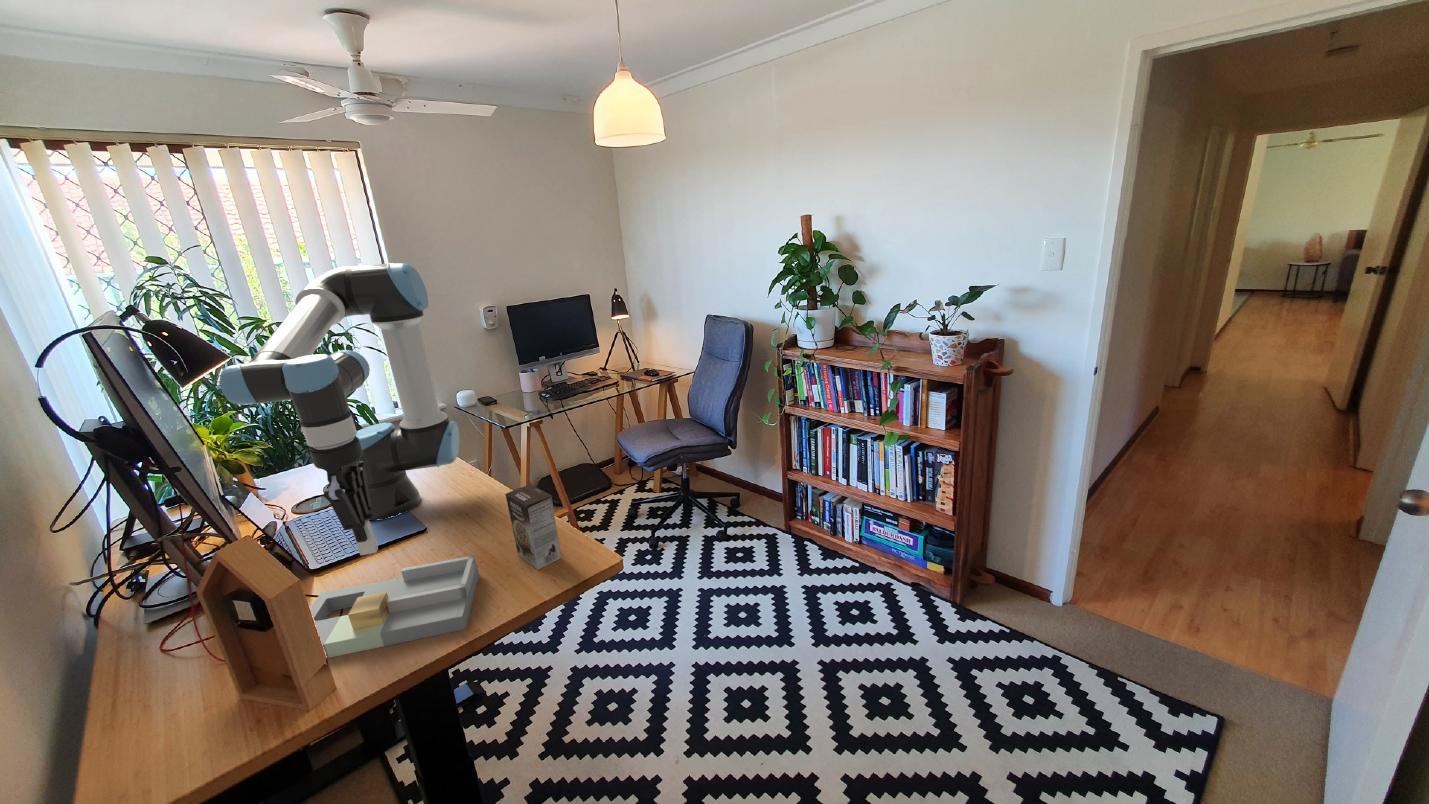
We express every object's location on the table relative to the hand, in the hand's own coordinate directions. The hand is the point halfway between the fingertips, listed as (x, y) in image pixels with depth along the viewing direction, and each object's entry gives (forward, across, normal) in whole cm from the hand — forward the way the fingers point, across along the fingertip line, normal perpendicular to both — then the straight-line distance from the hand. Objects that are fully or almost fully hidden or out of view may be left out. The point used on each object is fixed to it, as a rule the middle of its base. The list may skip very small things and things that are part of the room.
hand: (369, 551), depth 105 cm
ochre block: (+10, +7, 0) cm, 12 cm away
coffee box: (+14, -8, +30) cm, 33 cm away
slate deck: (+13, +4, +2) cm, 14 cm away
